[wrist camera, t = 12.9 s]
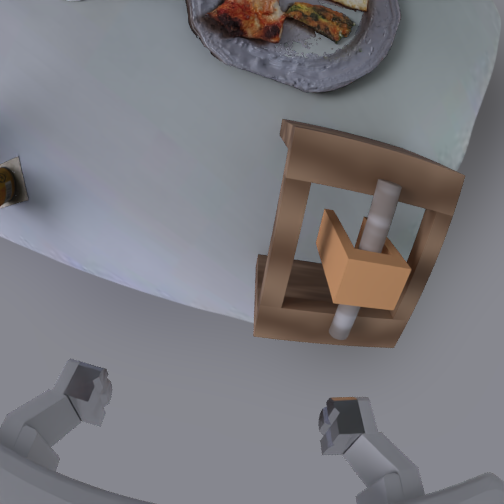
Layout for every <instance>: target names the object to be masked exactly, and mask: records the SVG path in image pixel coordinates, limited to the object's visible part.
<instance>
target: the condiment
mask: <svg viewBox="0 0 504 504" xmlns="http://www.w3.org/2000/svg"><path fill="white" fill-rule="evenodd" d="M12 171H13V172H12ZM14 172H15V173H14ZM26 200H28V197H27V192H26V188H25V183H24V179H23V174H22V171H21V166H20V162H19V158H18V157H16V158H13V159H11V160H9V161H7V162H4V163H2V164H0V208H3V207H6V206H9V205H13V204H16V203H19V202H23V201H26Z"/></svg>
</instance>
